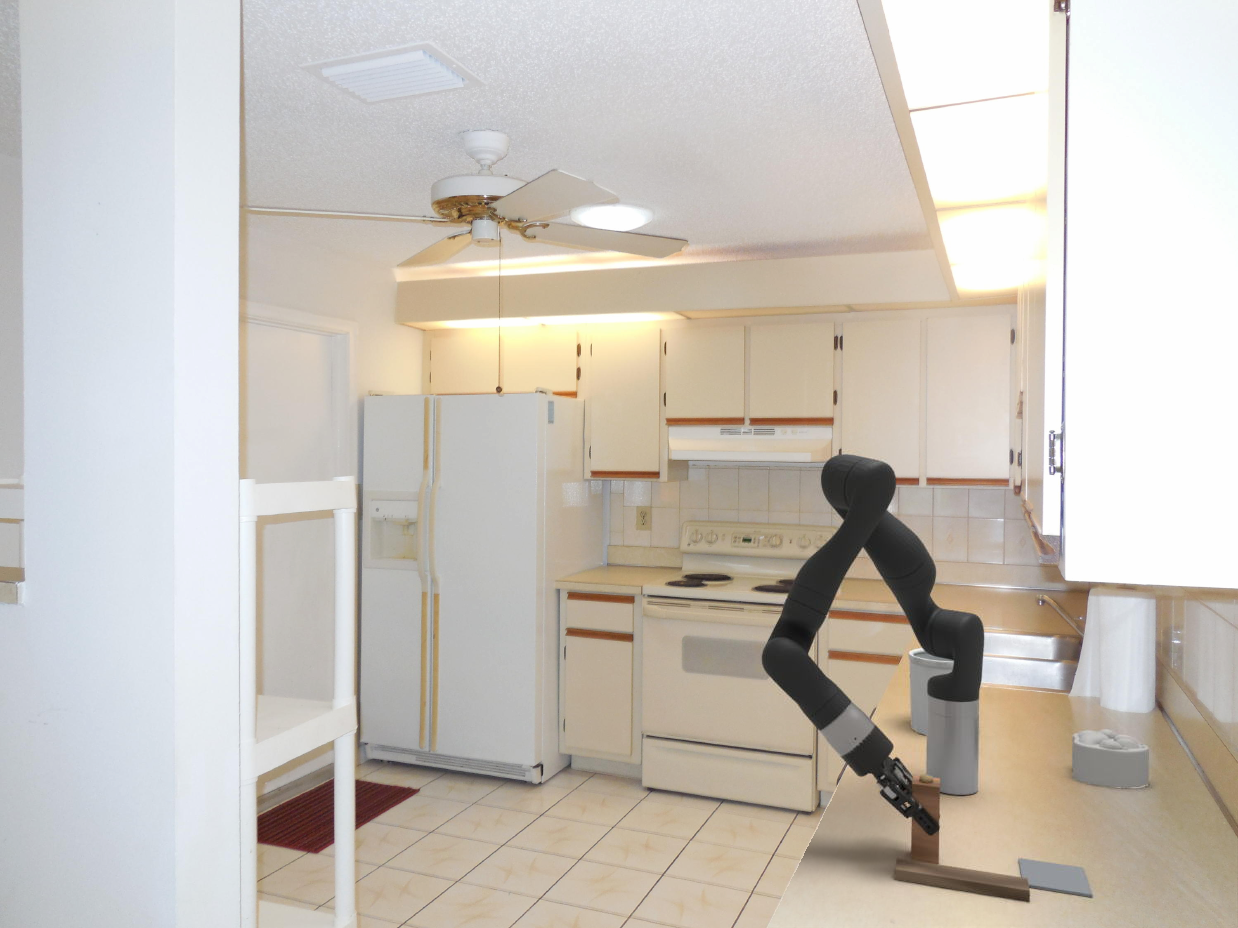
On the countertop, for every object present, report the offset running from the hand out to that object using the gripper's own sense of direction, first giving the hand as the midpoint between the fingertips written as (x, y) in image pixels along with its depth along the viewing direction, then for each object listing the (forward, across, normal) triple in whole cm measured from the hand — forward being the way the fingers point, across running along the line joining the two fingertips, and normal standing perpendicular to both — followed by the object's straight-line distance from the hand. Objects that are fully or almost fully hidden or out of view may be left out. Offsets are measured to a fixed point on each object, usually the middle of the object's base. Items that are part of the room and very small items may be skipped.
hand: (935, 825), depth 138 cm
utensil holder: (+4, +71, +4) cm, 71 cm away
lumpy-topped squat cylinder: (+26, +50, -18) cm, 59 cm away
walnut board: (+6, -7, +1) cm, 9 cm away
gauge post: (+3, 0, +5) cm, 6 cm away
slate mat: (+15, 0, -8) cm, 17 cm away
